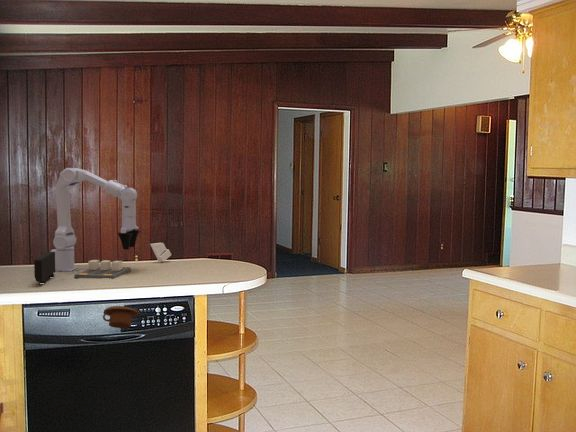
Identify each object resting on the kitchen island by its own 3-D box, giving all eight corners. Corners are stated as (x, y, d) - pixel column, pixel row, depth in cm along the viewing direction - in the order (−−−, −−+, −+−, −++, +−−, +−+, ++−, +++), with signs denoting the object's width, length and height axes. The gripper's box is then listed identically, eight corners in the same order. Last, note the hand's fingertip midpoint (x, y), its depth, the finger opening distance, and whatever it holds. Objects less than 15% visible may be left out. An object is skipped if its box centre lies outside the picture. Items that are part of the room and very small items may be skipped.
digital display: (47, 275, 232) (47, 251, 231) (56, 275, 232) (55, 251, 232) (33, 286, 211) (32, 259, 210) (42, 286, 212) (42, 259, 211)
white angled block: (150, 262, 268) (150, 244, 268) (166, 259, 276) (166, 242, 275) (155, 263, 266) (155, 244, 265) (171, 260, 274) (171, 242, 273)
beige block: (88, 269, 237) (88, 261, 237) (92, 268, 241) (92, 259, 241) (95, 270, 237) (95, 261, 236) (99, 268, 241) (99, 260, 240)
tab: (100, 270, 237) (100, 261, 236) (103, 268, 241) (103, 260, 240) (107, 270, 236) (107, 262, 236) (110, 268, 240) (110, 260, 240)
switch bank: (74, 278, 227) (74, 274, 227) (94, 269, 247) (94, 265, 247) (113, 279, 226) (113, 275, 226) (130, 270, 246) (130, 266, 246)
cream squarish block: (112, 270, 236) (111, 262, 236) (115, 268, 240) (115, 260, 240) (119, 270, 236) (119, 262, 236) (122, 269, 240) (122, 260, 240)
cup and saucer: (104, 311, 204) (102, 328, 201) (103, 302, 193) (101, 320, 191) (139, 313, 207) (137, 330, 204) (140, 304, 196) (138, 322, 194)
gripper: (132, 218, 235) (132, 250, 236) (143, 215, 249) (143, 246, 250) (115, 217, 235) (115, 250, 236) (127, 214, 250) (127, 245, 251)
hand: (129, 248), depth 243 cm, fingers open, 7 cm apart
